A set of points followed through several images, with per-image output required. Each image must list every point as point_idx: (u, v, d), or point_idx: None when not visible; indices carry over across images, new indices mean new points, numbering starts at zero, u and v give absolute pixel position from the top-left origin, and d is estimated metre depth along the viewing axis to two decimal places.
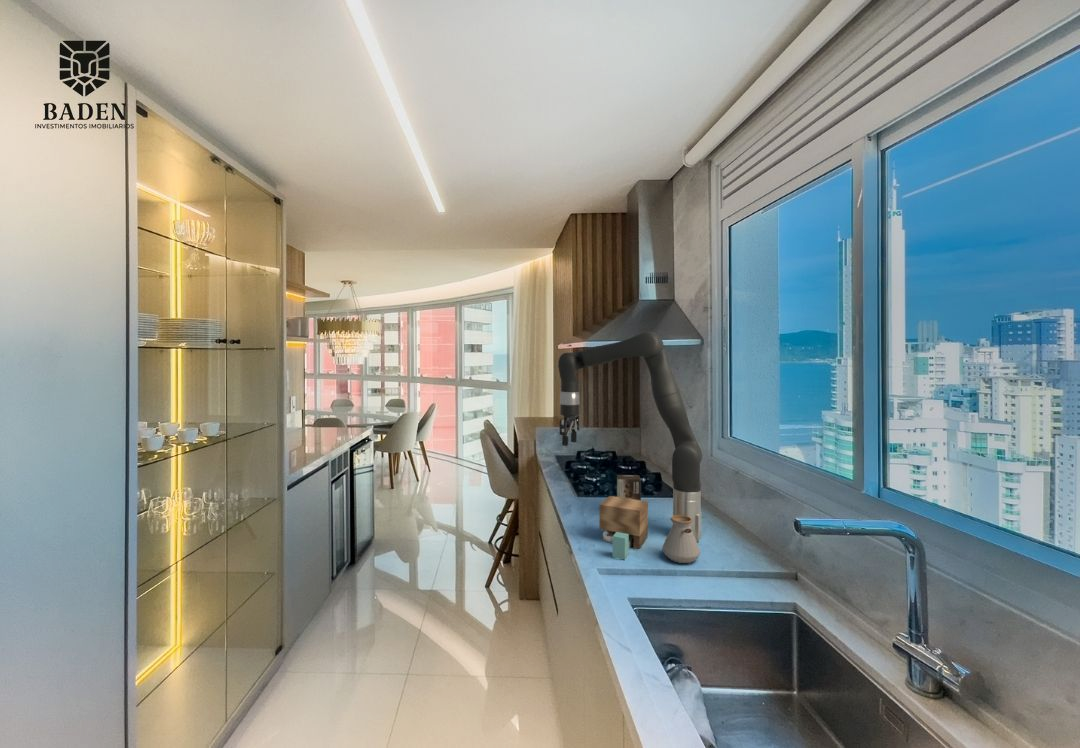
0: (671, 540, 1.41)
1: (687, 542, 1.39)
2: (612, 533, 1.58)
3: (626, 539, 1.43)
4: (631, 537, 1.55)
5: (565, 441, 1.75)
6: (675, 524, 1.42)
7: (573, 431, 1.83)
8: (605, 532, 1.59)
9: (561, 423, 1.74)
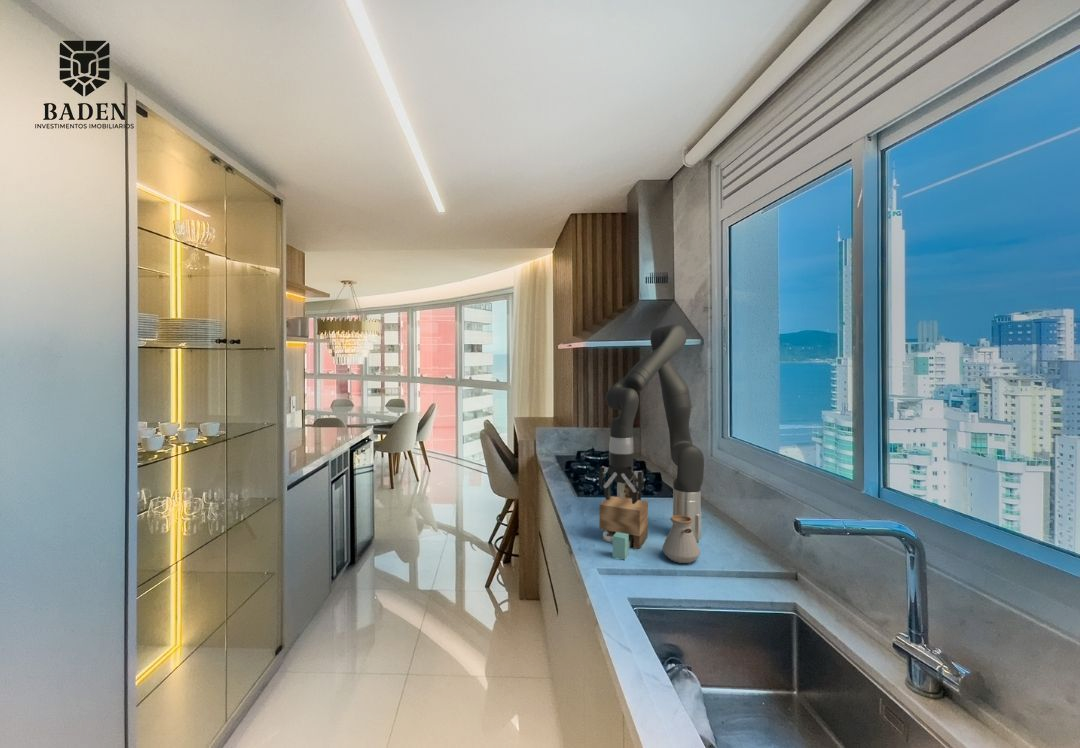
0: (671, 540, 1.41)
1: (687, 542, 1.39)
2: (612, 533, 1.58)
3: (626, 539, 1.43)
4: (631, 537, 1.55)
5: (637, 497, 1.42)
6: (675, 524, 1.42)
7: (608, 486, 1.46)
8: (605, 532, 1.59)
9: (642, 475, 1.40)
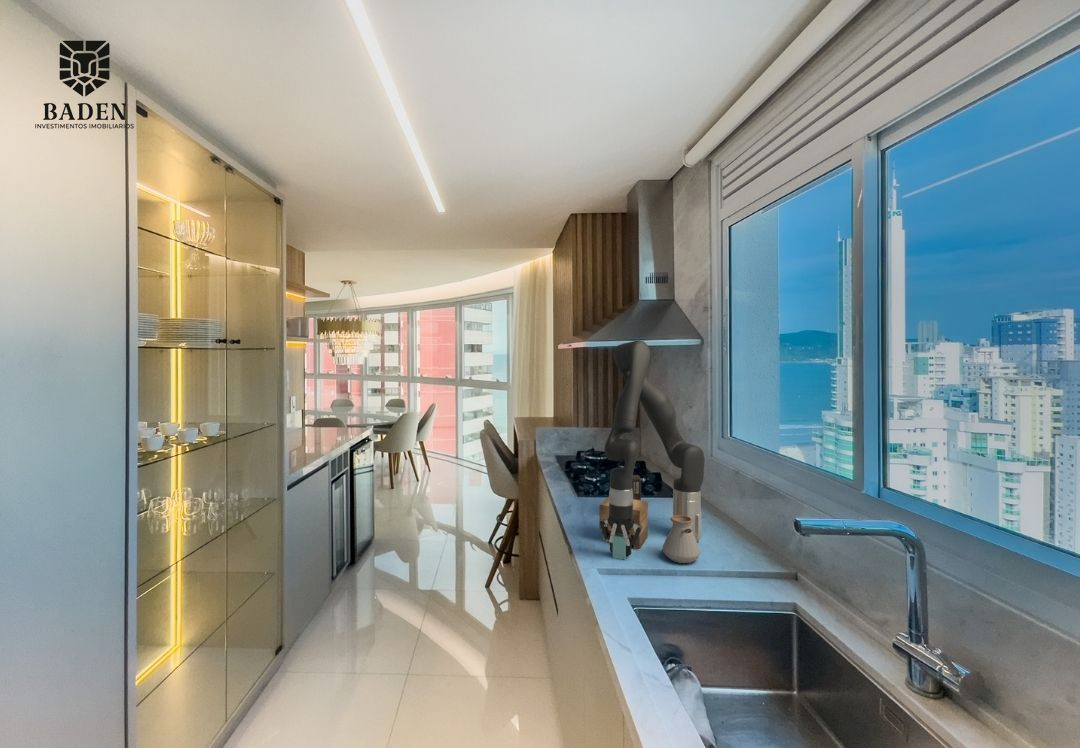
0: (671, 540, 1.41)
1: (687, 542, 1.39)
2: None
3: None
4: (631, 537, 1.55)
5: None
6: (675, 524, 1.42)
7: None
8: None
9: (640, 531, 1.41)
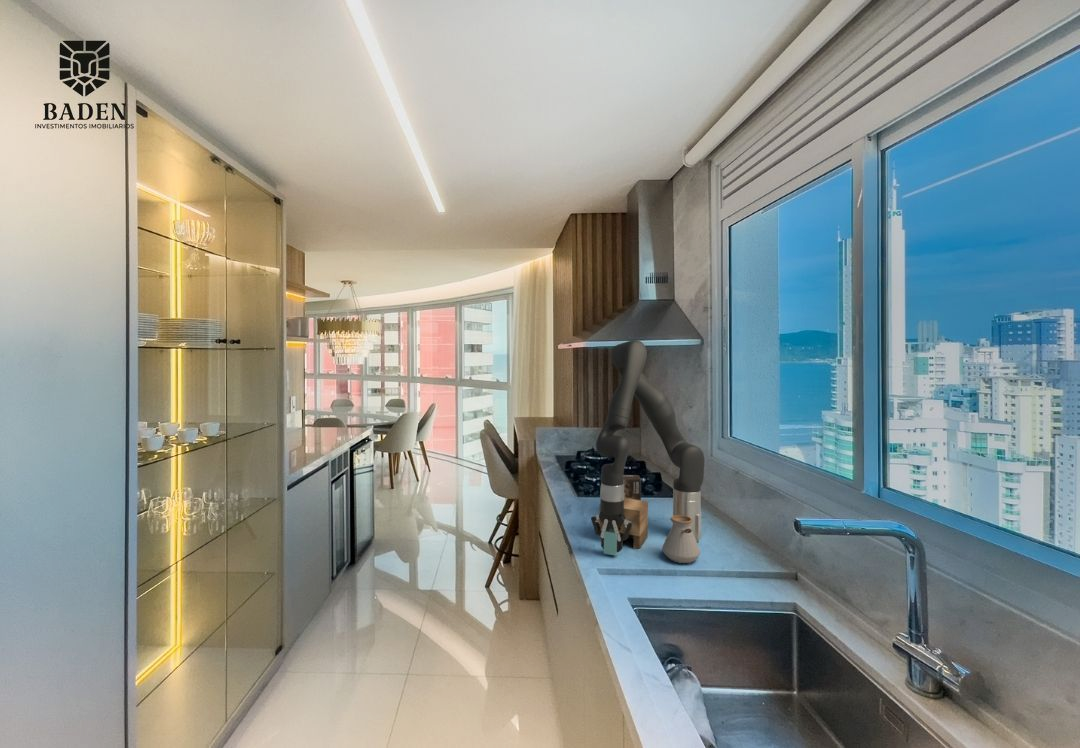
0: (671, 540, 1.41)
1: (687, 542, 1.39)
2: None
3: None
4: (622, 533, 1.56)
5: (622, 545, 1.45)
6: (675, 524, 1.42)
7: None
8: None
9: (631, 527, 1.42)
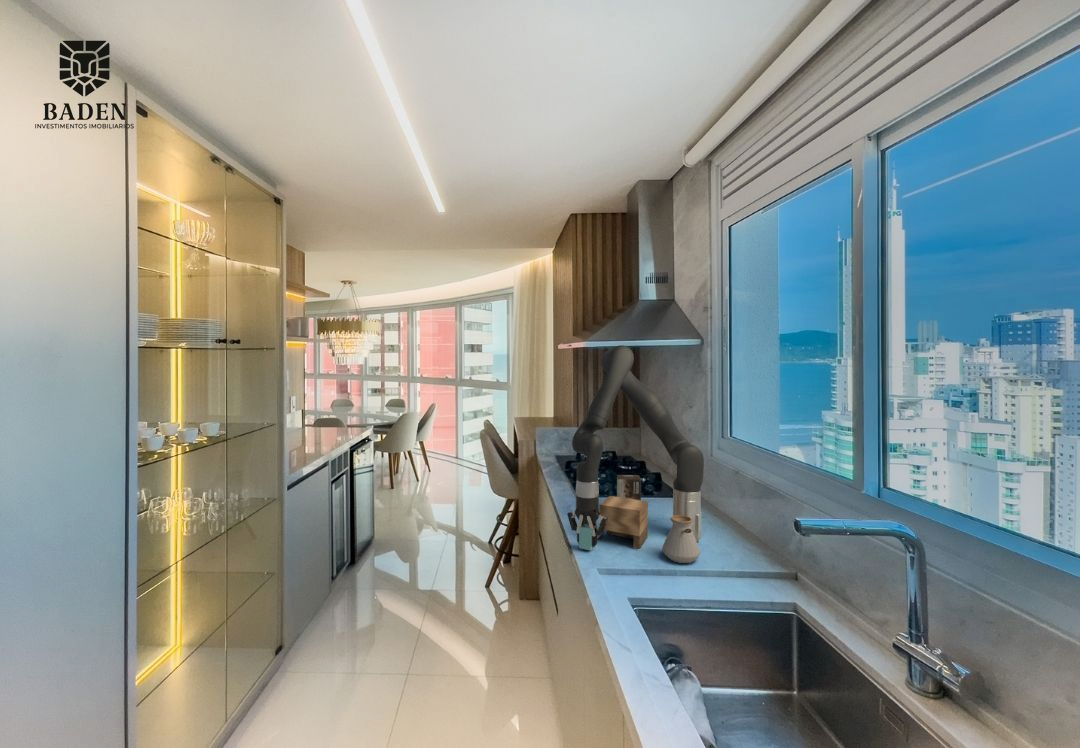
0: (671, 540, 1.41)
1: (687, 542, 1.39)
2: None
3: None
4: None
5: None
6: (675, 524, 1.42)
7: None
8: None
9: (605, 522, 1.46)
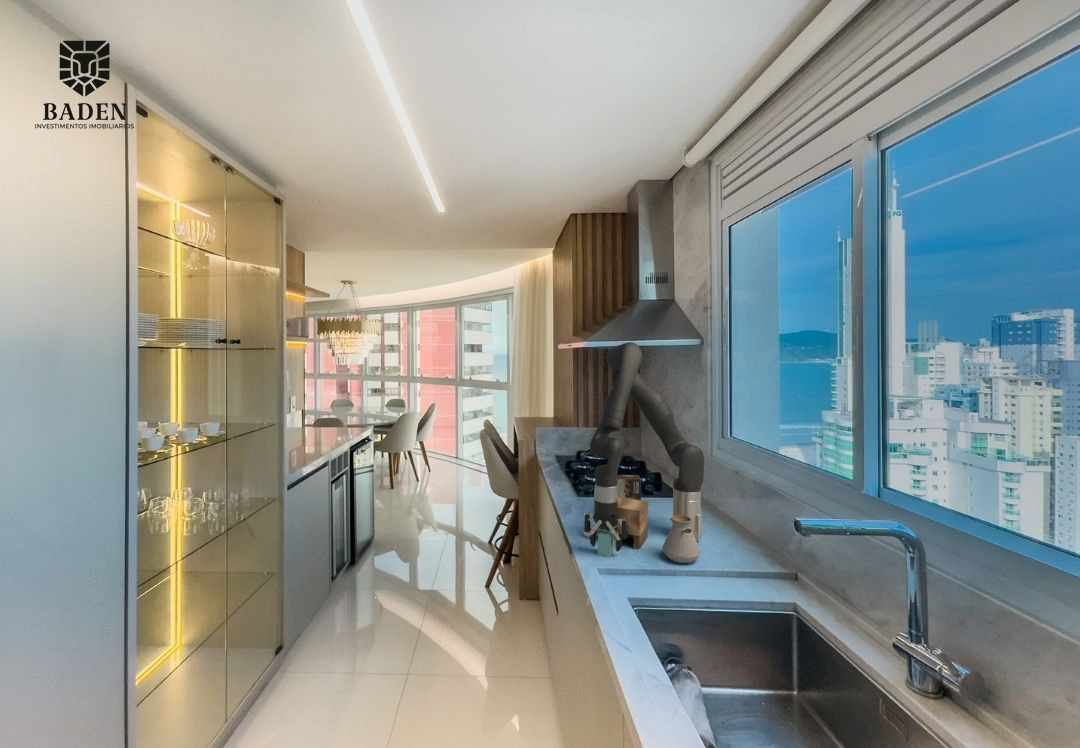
0: (671, 540, 1.41)
1: (687, 542, 1.39)
2: None
3: (611, 536, 1.46)
4: None
5: (621, 544, 1.45)
6: (675, 524, 1.42)
7: (594, 532, 1.49)
8: None
9: (626, 524, 1.43)
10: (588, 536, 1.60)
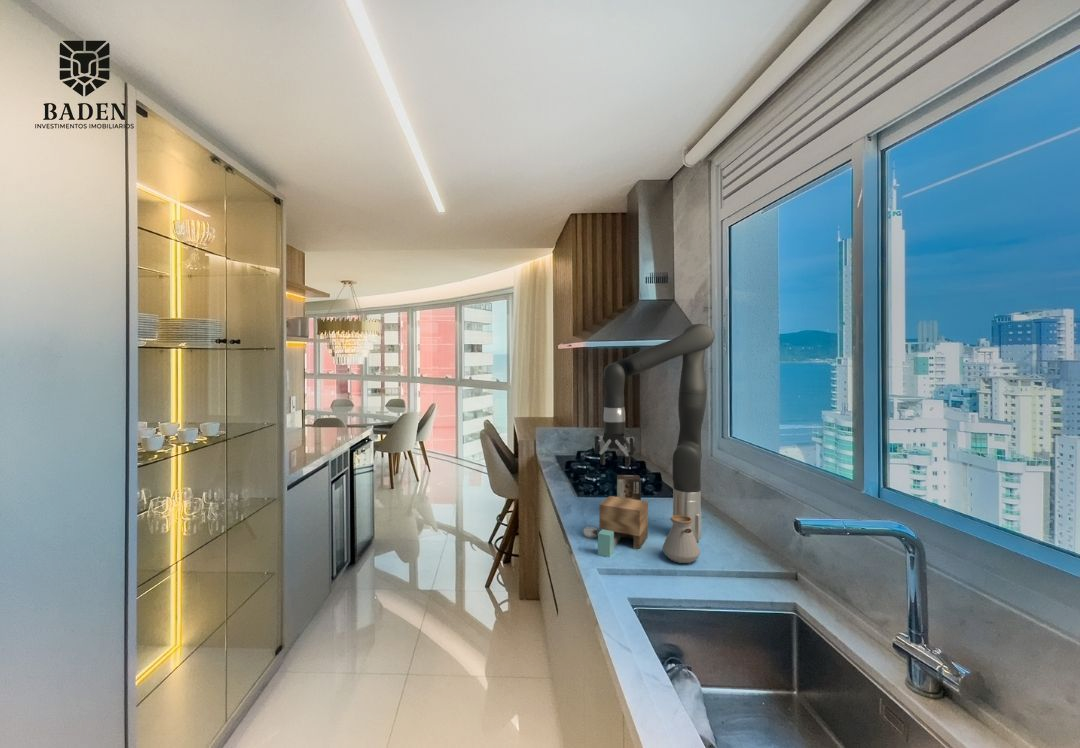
0: (671, 540, 1.41)
1: (687, 542, 1.39)
2: (592, 529, 1.62)
3: (611, 536, 1.46)
4: (617, 534, 1.57)
5: None
6: (675, 524, 1.42)
7: (603, 452, 1.62)
8: (586, 528, 1.63)
9: (633, 441, 1.57)
10: (588, 536, 1.60)
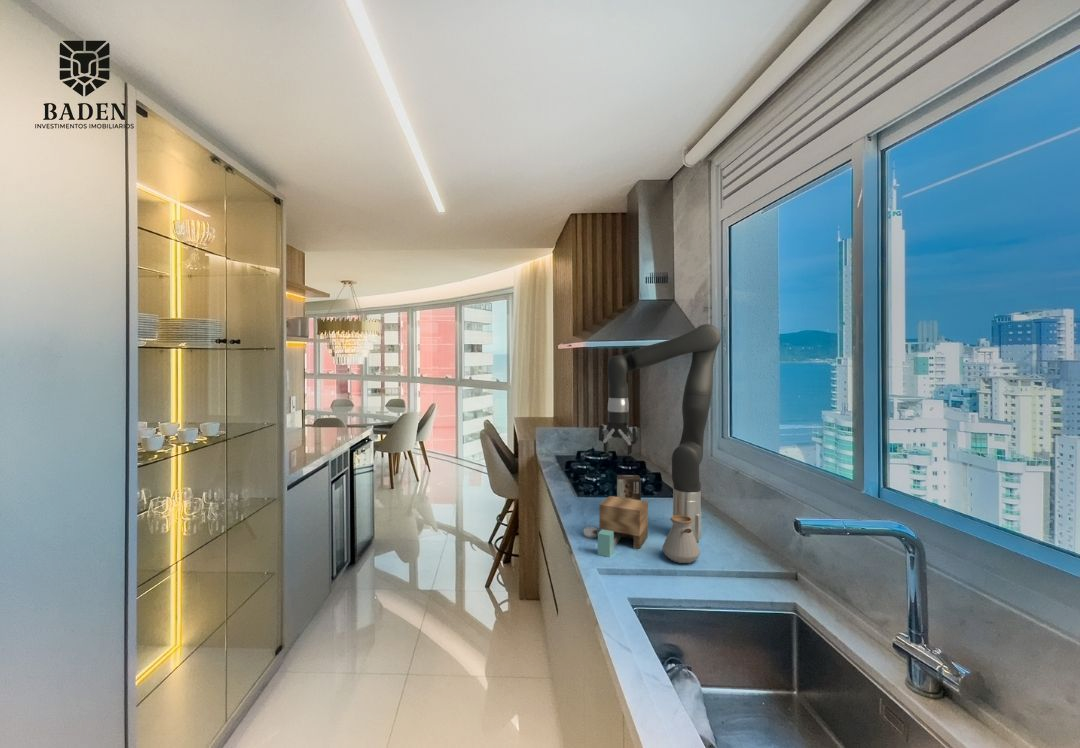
0: (671, 540, 1.41)
1: (687, 542, 1.39)
2: (592, 529, 1.62)
3: (611, 536, 1.46)
4: (617, 534, 1.57)
5: (632, 449, 1.65)
6: (675, 524, 1.42)
7: (607, 441, 1.69)
8: (586, 528, 1.63)
9: (636, 430, 1.63)
10: (588, 536, 1.60)
